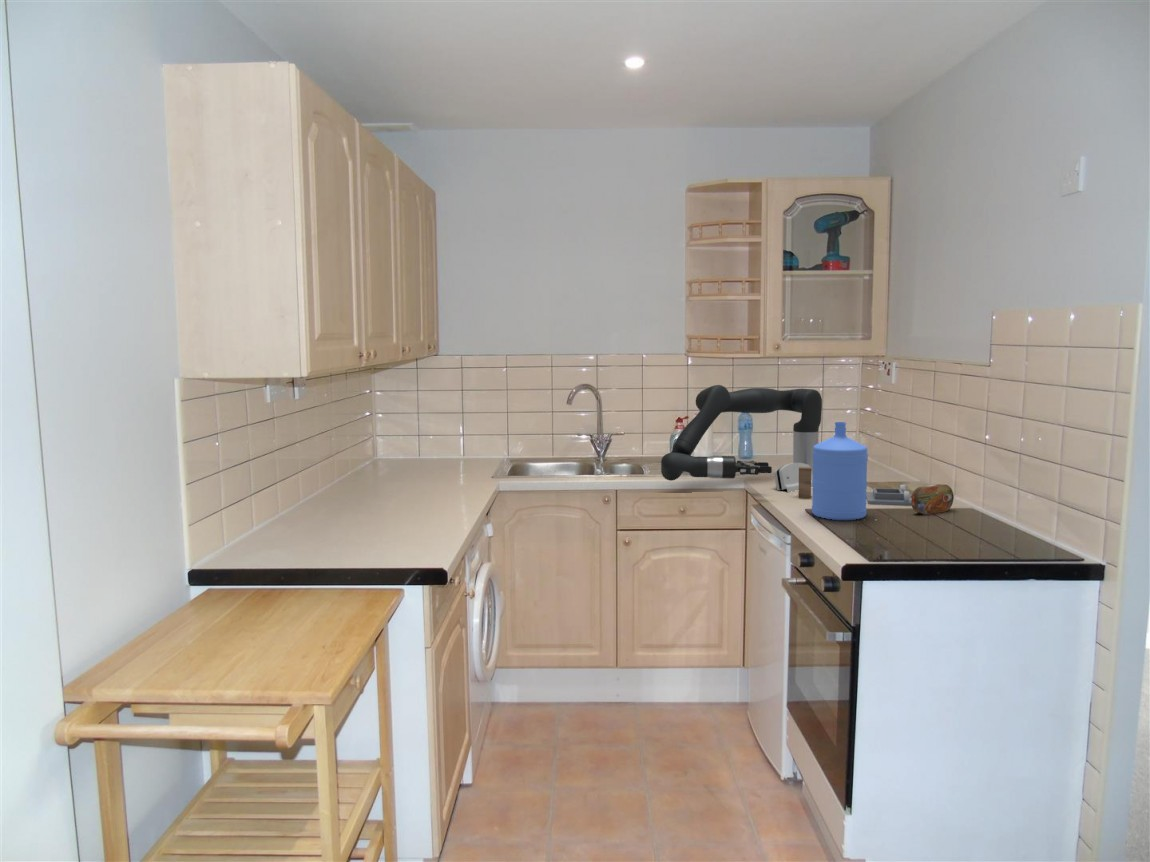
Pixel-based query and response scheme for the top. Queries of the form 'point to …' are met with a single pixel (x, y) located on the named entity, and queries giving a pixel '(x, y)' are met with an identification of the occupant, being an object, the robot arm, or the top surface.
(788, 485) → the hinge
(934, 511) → the tin
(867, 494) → the seat board
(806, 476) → the block
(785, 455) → the top surface
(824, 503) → the water jug
